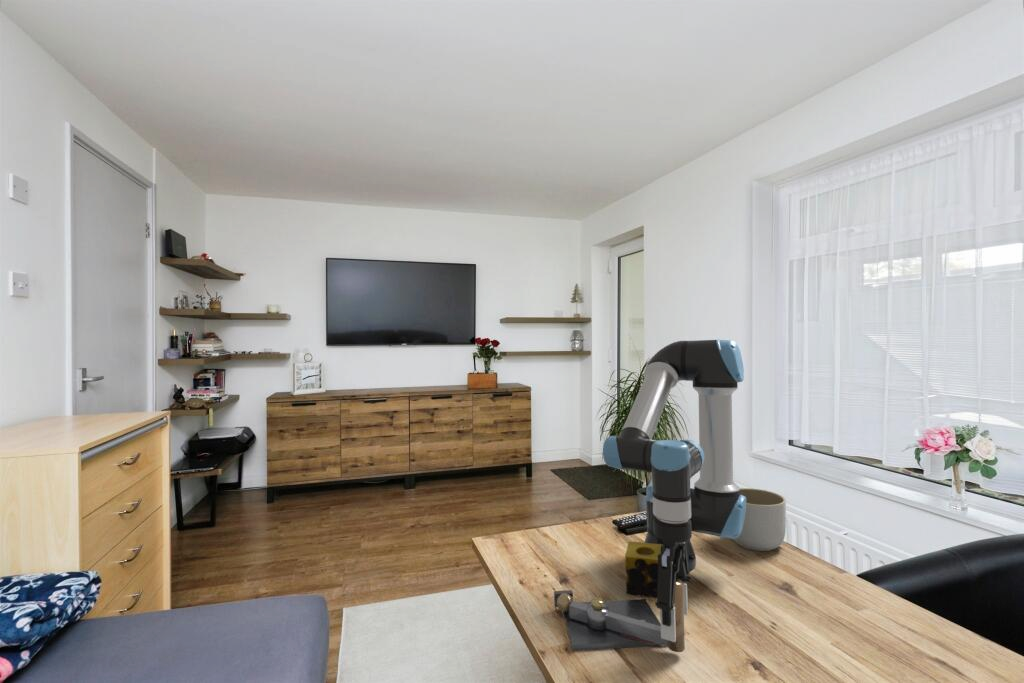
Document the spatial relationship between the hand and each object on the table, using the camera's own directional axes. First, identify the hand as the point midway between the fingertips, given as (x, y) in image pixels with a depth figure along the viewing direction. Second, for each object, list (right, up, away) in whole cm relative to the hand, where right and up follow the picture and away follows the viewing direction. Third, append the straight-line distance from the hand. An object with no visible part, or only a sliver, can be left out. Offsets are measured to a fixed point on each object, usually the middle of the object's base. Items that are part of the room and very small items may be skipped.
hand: (674, 625), depth 97 cm
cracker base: (-12, -7, +10) cm, 17 cm away
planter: (+43, -5, +51) cm, 67 cm away
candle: (+2, -6, +27) cm, 28 cm away
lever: (-9, -5, +6) cm, 12 cm away
